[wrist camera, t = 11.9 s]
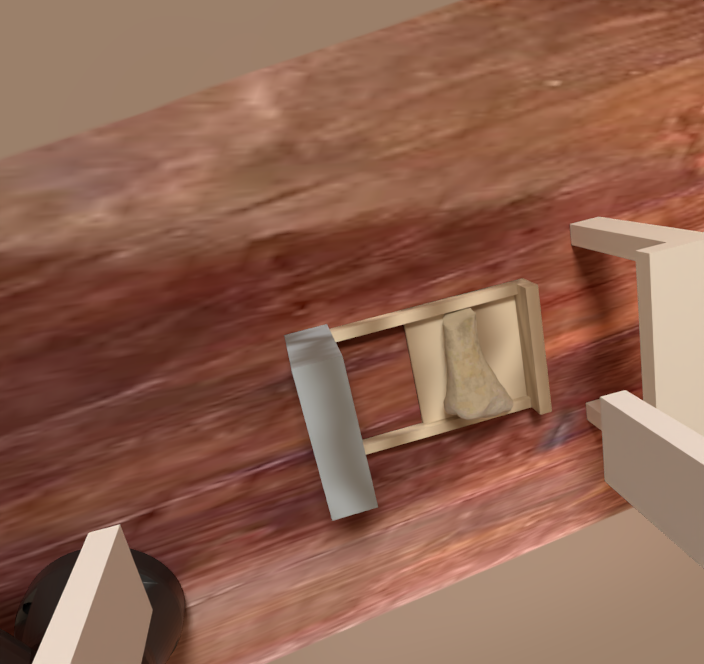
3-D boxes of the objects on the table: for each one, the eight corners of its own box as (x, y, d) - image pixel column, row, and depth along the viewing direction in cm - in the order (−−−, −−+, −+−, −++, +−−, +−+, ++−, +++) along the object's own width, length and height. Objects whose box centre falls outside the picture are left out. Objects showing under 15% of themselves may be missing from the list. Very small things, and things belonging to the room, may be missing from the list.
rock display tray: (319, 466, 55) (332, 520, 47) (284, 335, 51) (291, 369, 42) (537, 403, 58) (587, 444, 49) (521, 273, 53) (573, 293, 45)
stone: (506, 398, 56) (528, 419, 52) (451, 427, 56) (468, 451, 52) (465, 302, 53) (485, 316, 48) (406, 333, 53) (420, 350, 48)
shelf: (565, 425, 59) (660, 504, 45) (545, 230, 52) (649, 253, 39) (634, 405, 60) (748, 477, 46) (623, 210, 53) (752, 226, 40)
